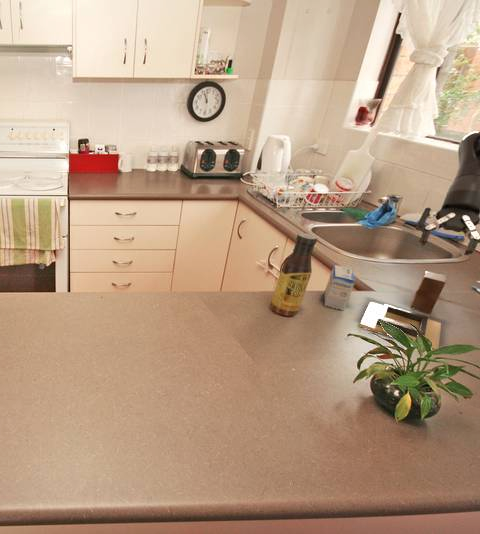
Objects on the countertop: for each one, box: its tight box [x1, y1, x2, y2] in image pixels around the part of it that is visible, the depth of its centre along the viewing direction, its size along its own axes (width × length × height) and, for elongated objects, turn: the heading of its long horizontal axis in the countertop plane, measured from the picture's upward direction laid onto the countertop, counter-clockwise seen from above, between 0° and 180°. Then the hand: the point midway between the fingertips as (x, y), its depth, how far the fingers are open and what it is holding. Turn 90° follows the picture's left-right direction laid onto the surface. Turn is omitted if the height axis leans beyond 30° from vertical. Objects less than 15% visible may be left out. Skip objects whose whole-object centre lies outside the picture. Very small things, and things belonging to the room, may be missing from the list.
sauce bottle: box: [270, 232, 318, 317], centre depth 91 cm, size 7×6×20 cm
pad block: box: [410, 270, 447, 315], centre depth 97 cm, size 4×5×9 cm
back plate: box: [358, 301, 442, 350], centre depth 90 cm, size 14×14×2 cm
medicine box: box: [323, 264, 356, 311], centre depth 98 cm, size 8×4×9 cm, turn 150°
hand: (444, 248), depth 99 cm, fingers open, 8 cm apart
